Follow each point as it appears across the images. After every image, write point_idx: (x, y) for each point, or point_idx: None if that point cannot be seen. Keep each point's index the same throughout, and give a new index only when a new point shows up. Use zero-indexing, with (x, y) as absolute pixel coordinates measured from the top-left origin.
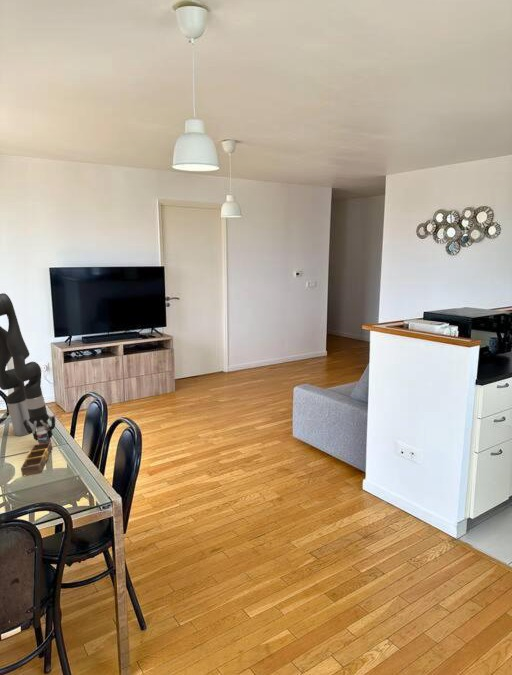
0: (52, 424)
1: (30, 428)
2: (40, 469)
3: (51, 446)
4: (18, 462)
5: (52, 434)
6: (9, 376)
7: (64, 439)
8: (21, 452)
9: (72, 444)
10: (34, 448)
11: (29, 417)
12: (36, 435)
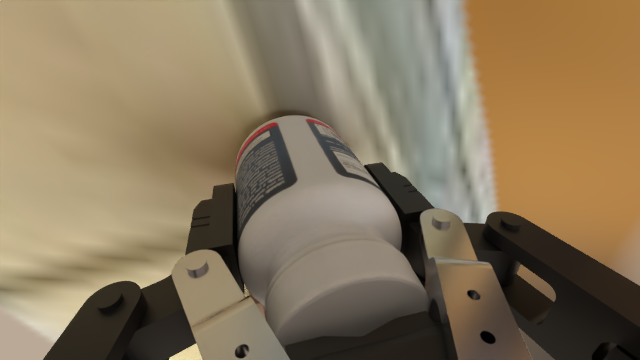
0: (538, 328)
1: (125, 345)
2: None
3: None
4: (184, 351)
5: (405, 186)
6: None
7: (443, 90)
8: (108, 246)
9: (489, 194)
10: (265, 316)
11: None
12: None
